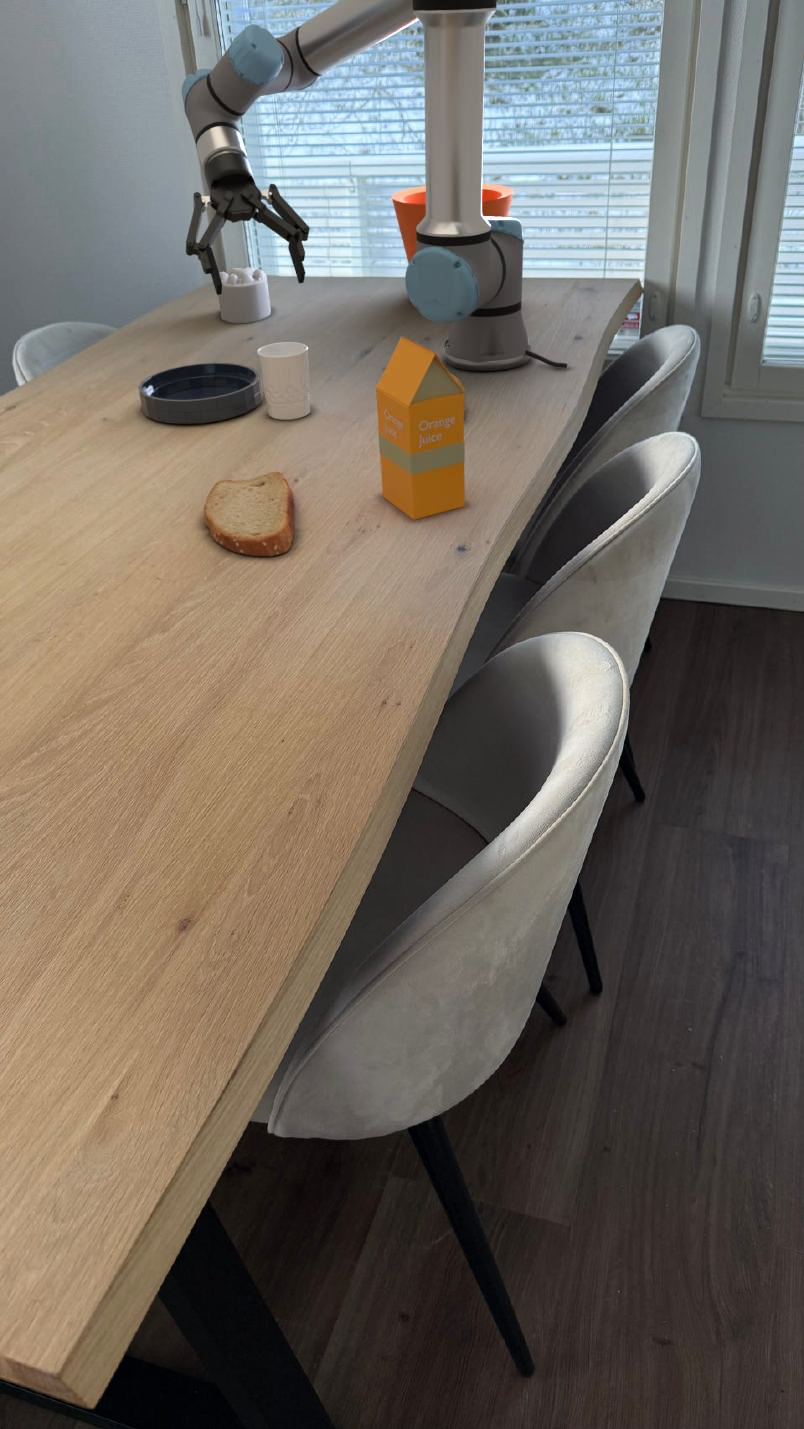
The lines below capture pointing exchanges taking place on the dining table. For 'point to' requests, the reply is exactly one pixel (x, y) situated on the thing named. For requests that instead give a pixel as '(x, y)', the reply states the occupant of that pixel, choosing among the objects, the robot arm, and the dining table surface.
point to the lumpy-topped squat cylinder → (244, 295)
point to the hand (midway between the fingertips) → (261, 284)
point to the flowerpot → (414, 210)
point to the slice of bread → (252, 515)
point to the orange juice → (420, 433)
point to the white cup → (285, 379)
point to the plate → (200, 393)
